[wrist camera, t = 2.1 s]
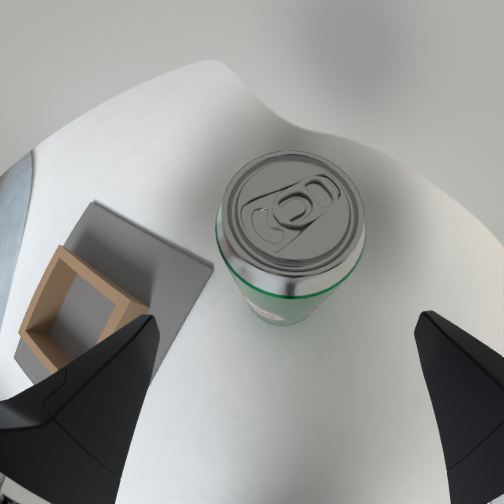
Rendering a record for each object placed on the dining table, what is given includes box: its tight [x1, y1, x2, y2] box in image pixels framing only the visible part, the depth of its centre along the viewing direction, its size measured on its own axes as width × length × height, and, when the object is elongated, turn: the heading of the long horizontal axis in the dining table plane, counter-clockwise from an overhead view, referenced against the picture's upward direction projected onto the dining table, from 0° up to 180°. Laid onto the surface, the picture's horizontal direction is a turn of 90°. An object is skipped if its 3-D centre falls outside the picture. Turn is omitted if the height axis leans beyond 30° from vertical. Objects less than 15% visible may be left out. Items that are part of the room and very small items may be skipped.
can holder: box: [14, 202, 213, 385], centre depth 18 cm, size 18×14×3 cm
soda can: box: [215, 151, 366, 326], centre depth 14 cm, size 5×5×12 cm
